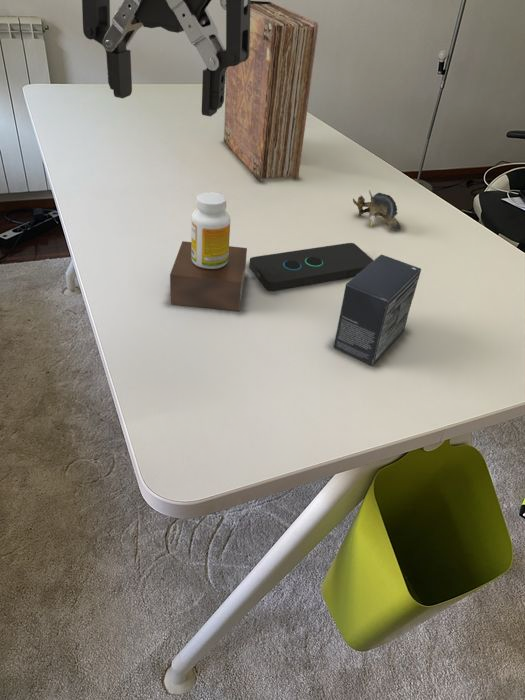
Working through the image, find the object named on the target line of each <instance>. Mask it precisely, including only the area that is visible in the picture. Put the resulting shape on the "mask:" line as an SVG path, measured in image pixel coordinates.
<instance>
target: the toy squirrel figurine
mask: <svg viewBox="0 0 525 700" xmlns="http://www.w3.org/2000/svg"><path fill="white" fill-rule="evenodd" d="M368 194H369V196H370V201H367V202H365V201H366V199H365V197H364V196H363V195H362V194H360V196H358V198H357V200H356V199H355V198H352V202H353V204H354V205H355V206H356V207H357V209H358V216H359V217H362V215H364V214H366V213H369V219H370V221H369V222H370V224H369V227H372V226H373V225H374V224H375V222H376V218H377V217H380V218H382V219H384V220H385V222H386V223H387V224H388V226H389V227H390V229H391V230H392V231H394V232H395V231H396V232H400V231H401V228H402V227H401V225H400V224H401V223H399V220H398V219H397V218H396V217H397V215H398V206H397V202H396V201H395V200H394V198H393V197H392V196H391V195H390V194H386V193H382V192H378V193H375V194H372V192H371V190H368ZM363 208H364V209H363Z"/></svg>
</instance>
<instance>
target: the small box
mask: <svg viewBox="0 0 525 700" xmlns="http://www.w3.org/2000/svg"><path fill="white" fill-rule="evenodd" d="M373 260H374V261H373V262H372V263H370V264H369V265H368V266H367V267H366V268H364V269H363V270H362V271H361V272H360V273H358V274H357V275H356V276H355V277H351V279H350V280H348V281H347V282H346V283H345V288H344V294H343V298H342V303H341V307H340V314H339V318H338V323H337V326H336V327H337V328H336V333H335V338H334V342H333V348H334V349H335V350H338V351H340V352H341V353H344V354H346V355H348V356H350V357H353V358H354V359H357V360H359V361H361V362H363V363H365V364H367V365H369V366H374V365H375V364H376V363H377V361H378V360H379V359H380V358H381V357H382V356H383V355H384V354H385V353H386V351H387V350H389V349H390V347H391V346H392V345H393V344H394V343H395V342H396V340H397V339H399V337H400V336H402V334H403V333H404V331H405V330H406V325H407V321H408V317H409V313H410V309H411V307H412V303H413V301H414V300H413V299H414V296H415V294H416V293H415V292H416V289H417V285H418V282H419V279H420V275H421V272H422V268H421V267H418V266H415V265H413V264H410V263H407V262H404V261H401V260H398V259H396V258H392V257H390V256H388V255H384V254H380V255H378V256H377V257H376V258H375V259H373Z"/></svg>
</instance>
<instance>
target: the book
mask: <svg viewBox="0 0 525 700" xmlns="http://www.w3.org/2000/svg"><path fill="white" fill-rule="evenodd" d="M318 32H319V22H317V21H315V20H313V19H310V18H308V17H306V16H303V15H301V14H299V13H296V12H295V11H292V10H289V9H287V8H285V7H283V6H280V5H278V4H276V3H274V2H272V1H261V0H251V7H250V45H249V57H248V59H247V60H246V61H244V62H241V63H240V64H238V65H236V66H230V67H227V69H226V74H225V98H224V103H225V104H224V108H225V109H224V127H223V128H224V129H223V143H224V144H225V145H226V146H227V147H228V149H230V150H231V152H232V153H233V154H234V155H235V156H236V157H237V159H238V160H239V161H240V162H241V163H242V164H243V166H245V168H246V169H247V170H248V171H249V172H250V173H251V174H252V175H253V177H254V178H255V179H256V180H257V181H258V182H259V183H262V181H263V180H265V179H280V178H294V179H295V180H298V179H299V176H300V170H301V162H302V155H303V154H302V153H303V147H304V139H305V131H306V123H307V115H308V108H309V100H310V92H311V85H312V84H311V83H312V77H313V68H314V61H315V54H316V45H317V39H318Z"/></svg>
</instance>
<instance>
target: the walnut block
mask: <svg viewBox="0 0 525 700" xmlns="http://www.w3.org/2000/svg"><path fill="white" fill-rule="evenodd" d="M191 246H192V241H184V240H183V241H182V242H181V244H180V246H179V250H178V252H177V255H176V258H175V259H174V263H173V265H172V268H171V271H170V273H169V289H170V290H169V293H170V305H175V306H185V307H195V308H204V309H215V310H223V311H232V312H233V311H234V312H240V309H241V303H242V297H243V290H244V284H245V277H246V265H247V255H248V254H247V253H248V247H240V246H231V245H229V257H228V262H227V264H226V265H225V266H223V267H221V268H218V269H205V268H201V267H198V266H196V265H195V264H194V263H193V261H192V256H191Z"/></svg>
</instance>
